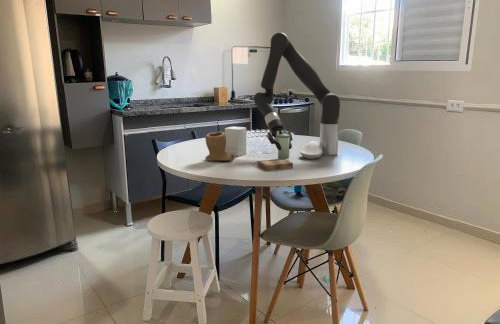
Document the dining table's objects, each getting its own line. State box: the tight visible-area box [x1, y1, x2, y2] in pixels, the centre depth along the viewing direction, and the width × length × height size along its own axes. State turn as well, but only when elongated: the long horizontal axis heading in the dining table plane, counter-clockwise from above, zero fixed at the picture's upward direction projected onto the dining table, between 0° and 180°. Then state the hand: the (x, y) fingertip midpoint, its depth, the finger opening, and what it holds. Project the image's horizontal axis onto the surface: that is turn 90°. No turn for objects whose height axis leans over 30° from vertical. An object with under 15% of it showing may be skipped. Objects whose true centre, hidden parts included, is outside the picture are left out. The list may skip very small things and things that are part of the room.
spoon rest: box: [299, 140, 322, 160], centre depth 207 cm, size 24×12×7 cm, turn 166°
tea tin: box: [277, 134, 290, 160], centre depth 195 cm, size 6×6×12 cm
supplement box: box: [224, 125, 247, 157], centre depth 208 cm, size 9×9×15 cm
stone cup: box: [204, 131, 237, 162], centre depth 193 cm, size 15×12×15 cm
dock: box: [257, 158, 294, 172], centre depth 183 cm, size 14×10×3 cm
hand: (285, 148), depth 194 cm, fingers closed on tea tin, 5 cm apart
